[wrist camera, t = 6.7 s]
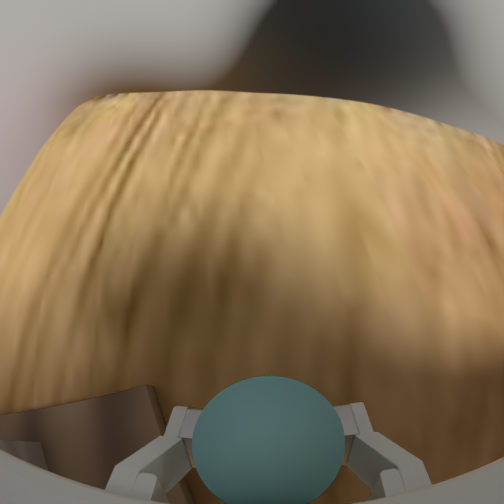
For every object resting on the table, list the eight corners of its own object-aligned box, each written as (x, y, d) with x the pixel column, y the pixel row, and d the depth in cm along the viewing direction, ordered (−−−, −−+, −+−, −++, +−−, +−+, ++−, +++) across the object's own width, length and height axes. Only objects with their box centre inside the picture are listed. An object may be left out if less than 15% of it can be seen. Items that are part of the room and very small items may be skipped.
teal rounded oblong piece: (291, 383, 15) (312, 353, 8) (317, 447, 13) (365, 479, 6) (221, 408, 15) (172, 402, 7) (246, 473, 13) (222, 529, 6)
